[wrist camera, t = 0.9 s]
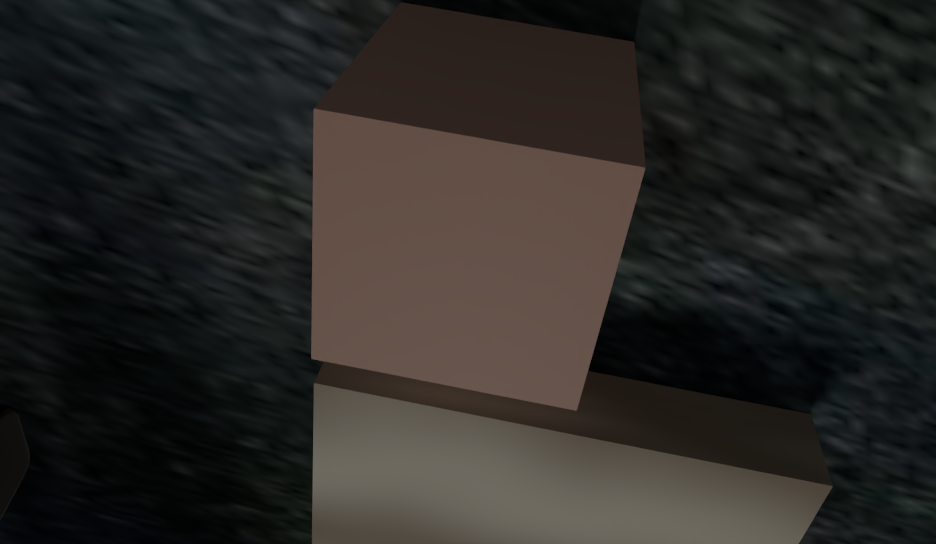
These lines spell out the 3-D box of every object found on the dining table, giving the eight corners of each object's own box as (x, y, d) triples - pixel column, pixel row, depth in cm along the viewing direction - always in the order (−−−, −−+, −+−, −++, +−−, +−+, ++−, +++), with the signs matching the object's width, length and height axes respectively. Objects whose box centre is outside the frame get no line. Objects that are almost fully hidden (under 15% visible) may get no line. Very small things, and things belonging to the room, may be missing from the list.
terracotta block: (584, 240, 19) (576, 410, 14) (386, 203, 19) (311, 358, 14) (634, 41, 16) (645, 167, 11) (401, 1, 17) (313, 109, 12)
